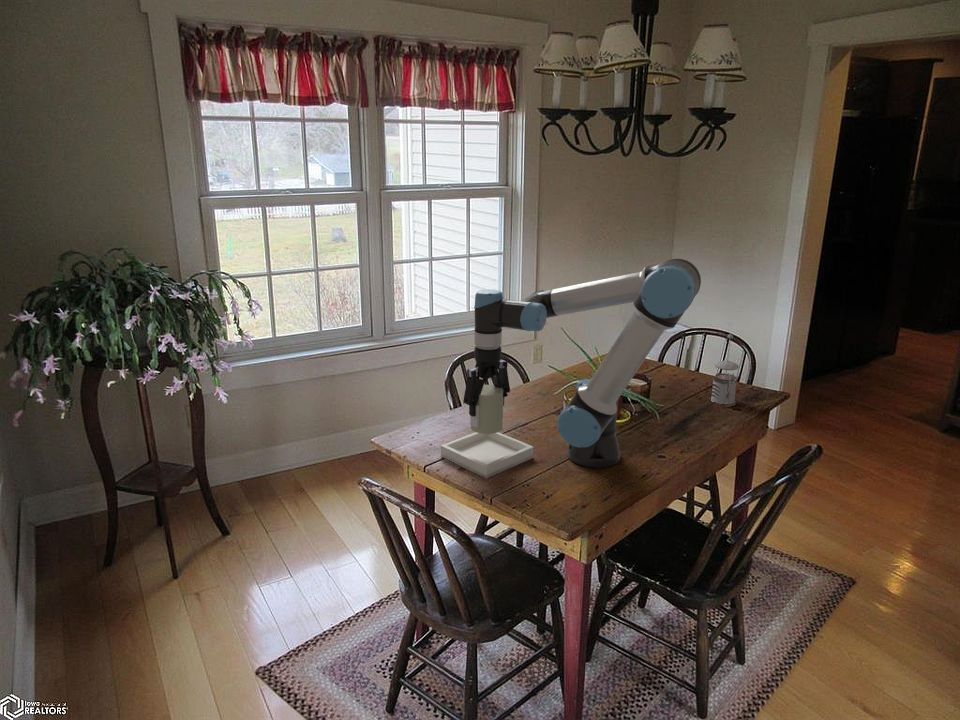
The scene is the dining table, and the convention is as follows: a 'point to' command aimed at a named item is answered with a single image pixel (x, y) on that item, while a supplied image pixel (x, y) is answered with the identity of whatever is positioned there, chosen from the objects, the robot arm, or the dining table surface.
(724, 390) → the french press
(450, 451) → the tray
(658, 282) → the robot arm
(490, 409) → the can
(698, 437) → the dining table surface
